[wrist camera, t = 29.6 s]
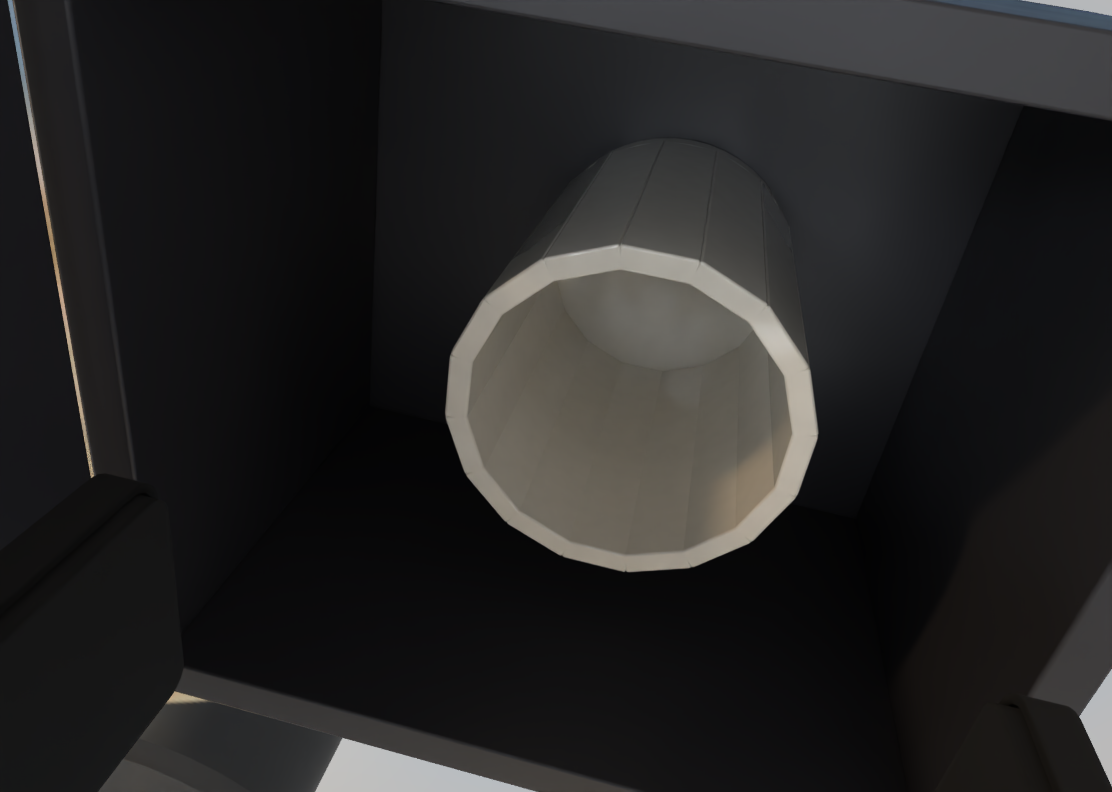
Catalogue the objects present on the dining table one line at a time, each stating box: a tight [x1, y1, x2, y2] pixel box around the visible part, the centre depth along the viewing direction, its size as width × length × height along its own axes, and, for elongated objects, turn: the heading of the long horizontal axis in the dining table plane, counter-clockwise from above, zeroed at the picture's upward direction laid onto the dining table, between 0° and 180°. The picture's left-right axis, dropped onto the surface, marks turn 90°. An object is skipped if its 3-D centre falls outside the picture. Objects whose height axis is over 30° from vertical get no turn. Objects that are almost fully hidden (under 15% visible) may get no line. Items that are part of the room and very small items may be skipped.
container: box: [445, 138, 819, 572], centre depth 17 cm, size 6×6×8 cm
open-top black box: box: [12, 0, 1112, 792], centre depth 16 cm, size 16×14×11 cm
